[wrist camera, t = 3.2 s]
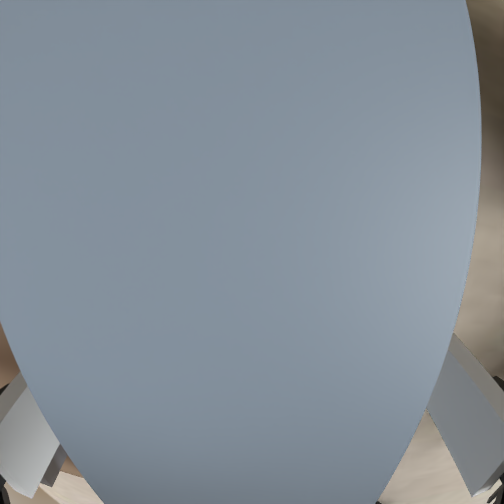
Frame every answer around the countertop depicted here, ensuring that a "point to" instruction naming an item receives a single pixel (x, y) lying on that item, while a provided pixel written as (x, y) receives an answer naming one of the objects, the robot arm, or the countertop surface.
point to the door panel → (235, 236)
